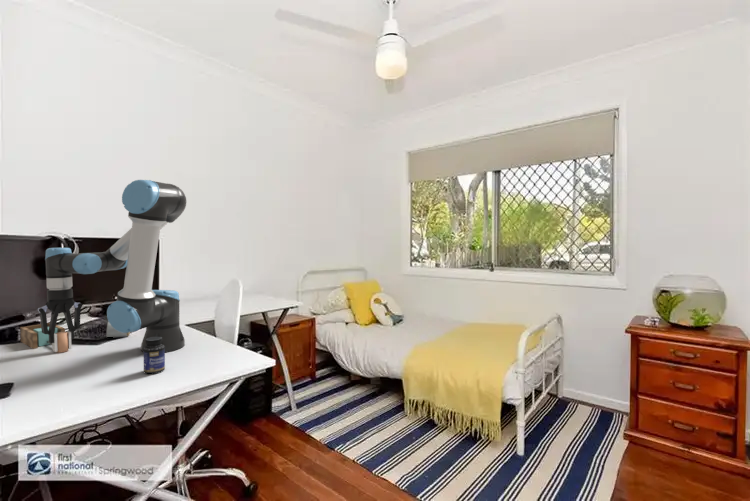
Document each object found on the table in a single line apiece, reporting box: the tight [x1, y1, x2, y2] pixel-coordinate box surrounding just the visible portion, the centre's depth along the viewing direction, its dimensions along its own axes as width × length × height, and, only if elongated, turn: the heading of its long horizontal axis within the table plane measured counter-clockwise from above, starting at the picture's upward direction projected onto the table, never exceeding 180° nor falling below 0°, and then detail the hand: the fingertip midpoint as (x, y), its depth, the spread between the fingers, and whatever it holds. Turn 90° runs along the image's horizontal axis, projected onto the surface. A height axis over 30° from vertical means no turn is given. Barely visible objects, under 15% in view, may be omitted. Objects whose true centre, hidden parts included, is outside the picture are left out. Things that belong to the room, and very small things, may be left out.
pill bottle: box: [142, 337, 166, 374], centre depth 125 cm, size 6×6×11 cm
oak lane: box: [19, 322, 66, 350], centre depth 155 cm, size 16×10×6 cm, turn 56°
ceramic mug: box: [106, 320, 131, 339], centre depth 166 cm, size 11×8×8 cm
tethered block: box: [33, 327, 69, 354], centre depth 149 cm, size 22×6×7 cm, turn 57°
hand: (62, 349), depth 144 cm, fingers closed on tethered block, 4 cm apart
